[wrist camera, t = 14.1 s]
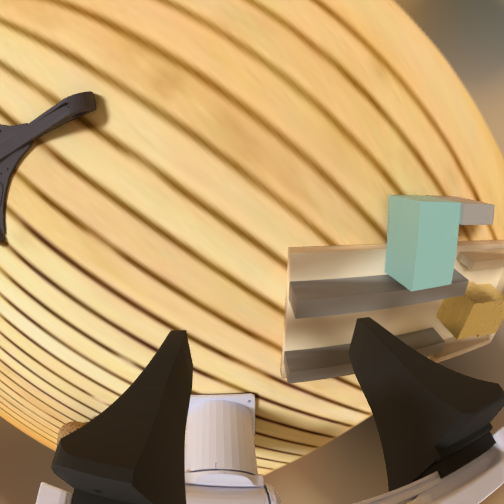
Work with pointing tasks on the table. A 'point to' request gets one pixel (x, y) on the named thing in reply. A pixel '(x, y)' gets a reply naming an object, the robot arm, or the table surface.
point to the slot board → (371, 305)
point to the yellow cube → (493, 310)
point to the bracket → (21, 136)
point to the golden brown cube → (466, 312)
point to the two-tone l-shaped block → (428, 237)
